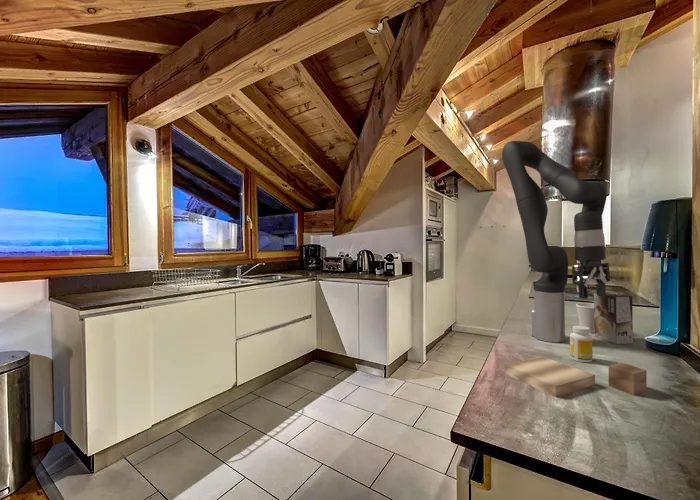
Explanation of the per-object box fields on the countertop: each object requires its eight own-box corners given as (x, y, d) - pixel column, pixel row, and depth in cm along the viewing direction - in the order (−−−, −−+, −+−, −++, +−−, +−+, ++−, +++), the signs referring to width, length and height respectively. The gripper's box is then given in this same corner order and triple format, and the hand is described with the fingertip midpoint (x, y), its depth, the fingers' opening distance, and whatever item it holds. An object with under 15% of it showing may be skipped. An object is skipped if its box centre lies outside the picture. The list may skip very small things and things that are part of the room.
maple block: (504, 375, 84) (504, 364, 84) (541, 366, 89) (541, 356, 89) (555, 399, 71) (555, 386, 70) (595, 387, 76) (595, 375, 76)
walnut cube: (608, 386, 75) (608, 365, 75) (621, 382, 77) (621, 362, 77) (633, 395, 70) (633, 373, 70) (646, 391, 72) (646, 370, 72)
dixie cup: (609, 334, 115) (609, 307, 115) (586, 334, 115) (586, 307, 115) (592, 327, 123) (591, 302, 123) (570, 328, 124) (570, 303, 123)
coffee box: (634, 343, 104) (634, 296, 104) (616, 344, 104) (616, 296, 103) (609, 335, 113) (609, 291, 113) (593, 336, 113) (592, 292, 112)
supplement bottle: (566, 358, 93) (565, 326, 93) (576, 354, 95) (576, 323, 95) (586, 364, 88) (585, 330, 88) (596, 360, 91) (596, 328, 90)
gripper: (591, 245, 103) (594, 294, 102) (561, 246, 97) (565, 298, 97) (617, 243, 96) (620, 296, 95) (587, 245, 91) (591, 300, 90)
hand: (592, 297), depth 96 cm, fingers open, 8 cm apart
